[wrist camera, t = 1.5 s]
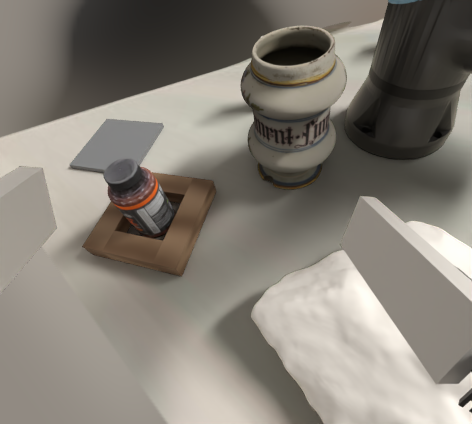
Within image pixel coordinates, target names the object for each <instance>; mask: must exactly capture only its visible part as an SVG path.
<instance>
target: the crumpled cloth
mask: <svg viewBox="0 0 472 424" xmlns="http://www.w3.org/2000/svg"><path fill="white" fill-rule="evenodd" d="M406 224H407V225H408V226H409V227H410V228H411V229H413V230H414V231H415V232H416V233H417V234H418V235H419V236H421V237H422V238H423V239H424V240H425V241H426V242H427V243H429V244H430V245H431V246H432V247H433V248H434V249H436V250H437V251H438V252H439V253H440V254H441V255H442V256H444V257H445V258H446V259H447V260H448V261H449V262H451V263H452V264H453V265H454V266H455V267H457V268H459V269H460V270H461V271H462V272H464V273H465V274H466V275H467V276H468V277H469V278H471V279H472V248H470V247H469V246H467V245H466V244H464V243H462V242H461V241H459V240H458V239H456V238H454V237H453V236H451V235H450V234H448V233H447V232H446V231H444V230H443V229H441V228H439V227H435V226H433V225H429V224H426V223H423V222H418V221H408V222H406ZM251 318H252V320H253V321H254V322H255V323H256V325H257V326H258V328H259V329H260V332H261V333H262V335H263V336H264V338H265V339H266V341H267V343H268V344H269V345H270V346H272V347H273V348H274V349H275V350H276V352H277V353H278V356H279V357H280V359H281V360H282V362H283V365H284V367H285V369H286V370H287V371H288V373H289V374H290V375H291V376H292V378H293V379H294V380H295V381H296V382H297V383H298V385H299V386H300V387H301V389H302V390H303V392H304V394H305V396H306V399H307V401H308V402H309V404H310V405H311V406H312V407H313V408H314V409H315V410H316V412H317V413H318V414H319V416H320V418H321V419H322V421H323V423H324V424H472V413H471V412H469V410H470V409H471V408H472V401H470V402H468V403H467V404H466V405H465V406H464V407H463V408H462V407H461V406H459V405H458V404H459V399H460V398H461V397H463V396H464V395H465V394H466V393H467V392H468V391H469V390H470V389H471V388H472V372H470V373H469V374H468V375H467V376H466V377H465V378H464V379H463V380H462V381H461V382H460V383H459V384H435V382H434V381H433V379H432V378H431V376H430V375H429V373H428V372H427V371H426V369H425V368H424V366H423V365H422V363H421V362H420V360H419V359H418V357H417V356H416V355H415V353H414V352H413V350H412V349H411V347H410V346H409V344H408V343H407V341H406V340H405V338H404V337H403V336H402V334H401V333H400V331H399V330H398V328H397V327H396V325H395V324H394V322H393V321H392V320H391V318H390V317H389V315H388V314H387V312H386V311H385V309H384V308H383V306H382V305H381V304H380V302H379V301H378V299H377V298H376V296H375V295H374V293H373V292H372V290H371V289H370V288H369V286H368V285H367V283H366V282H365V280H364V279H363V277H362V276H361V274H360V273H359V272H358V270H357V269H356V267H355V266H354V264H353V263H352V261H351V260H350V258H349V257H348V256H347V254H346V253H345V251H344V250H343V249H342V250H340V251H337V252H333V253H331V254H330V255H328V256H327V257H325V258H323V259H322V260H321V261H319V262H318V263H316V264H315V265H312V266H310V267H308V268H305V269H301V270H298V271H295V272H292V273H290V274H287V275H285V276H284V277H283V278H282V279H281V280H280V282H278V283H277V284H275V285H273V286H271V287H270V288H268V289H267V290H266V291H265V293H264V294H263V296H262V297H261V299H260V300H259V301H258V302H257V303H256V304H255V305H254V307H253V309H252V312H251Z"/></svg>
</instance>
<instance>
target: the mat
mask: <svg viewBox="0 0 472 424" xmlns="http://www.w3.org/2000/svg"><path fill="white" fill-rule="evenodd" d="M163 127H164V126H163V124H162V123H152V122H139V121H126V120H114V119H106V121H105V122H104V123H103V124H102V126H101V127H100V128H99V129H98V130H97V132H96V133H95V134H94V135H93V137H92V138H91V139H90V140H89V141H88V143H87V144H86V145H85V146H84V148H83V149H82V150H81V151H80V153H79V154H78V155H77V156H76V157H75V159H74V160H73V161H72V162H71V164H70V166H71V167H72V168H76V169H83V170H90V171H97V172H104V171H105V169H106V168H107V167H108V165H110V164H111V163H112V162H114V161H115V160H117V159H121V158H132V159H134V160H135V161H136V162H137V164H138V165H140V164H141V162H142V161H143V159H144V157H145V156H146V154H147V153H148V151H149V150H150V148H151V146H152V145H153V143H154V142H155V140H156V138H157V137H158V135H159V134H160V132H161V131H162V129H163Z"/></svg>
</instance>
